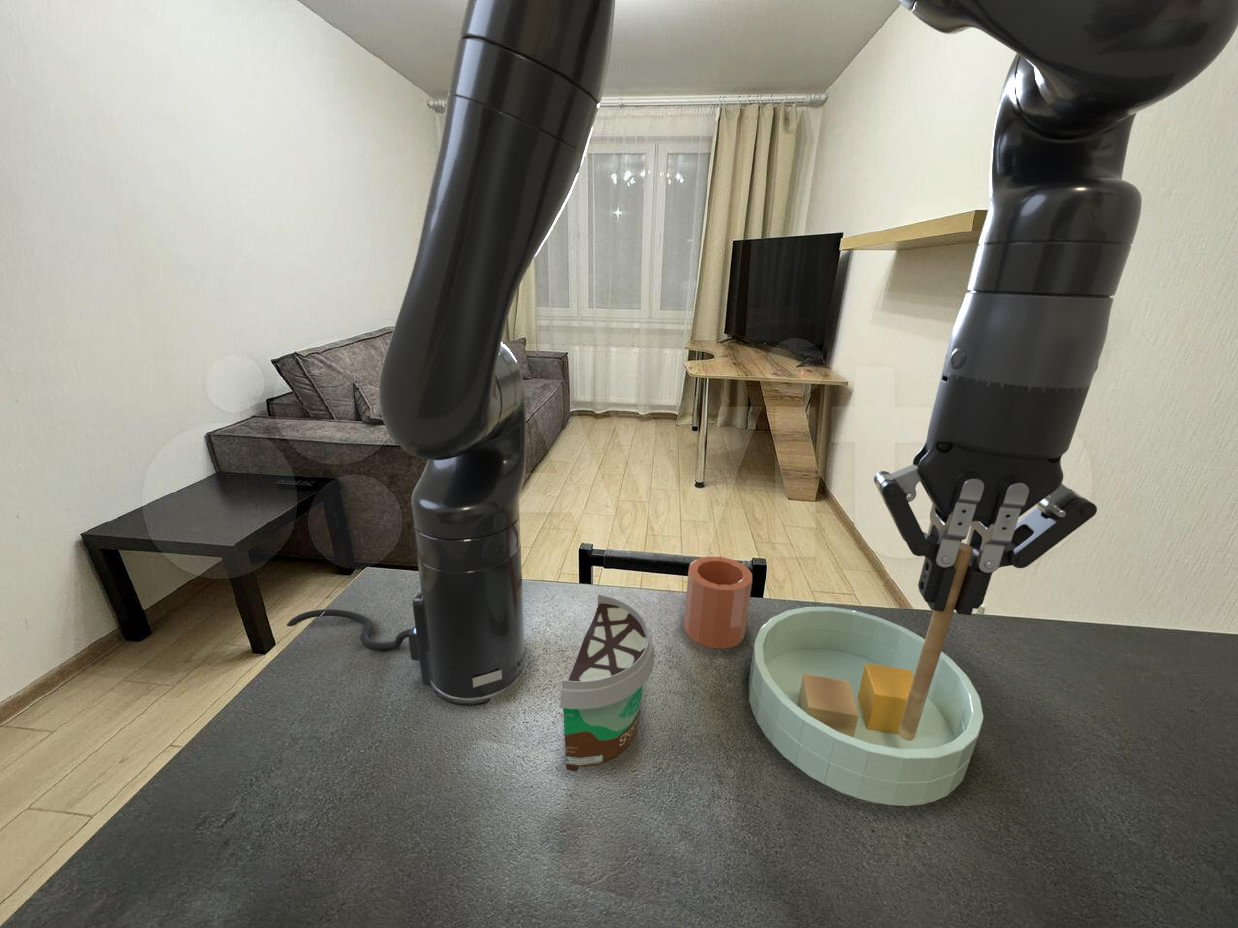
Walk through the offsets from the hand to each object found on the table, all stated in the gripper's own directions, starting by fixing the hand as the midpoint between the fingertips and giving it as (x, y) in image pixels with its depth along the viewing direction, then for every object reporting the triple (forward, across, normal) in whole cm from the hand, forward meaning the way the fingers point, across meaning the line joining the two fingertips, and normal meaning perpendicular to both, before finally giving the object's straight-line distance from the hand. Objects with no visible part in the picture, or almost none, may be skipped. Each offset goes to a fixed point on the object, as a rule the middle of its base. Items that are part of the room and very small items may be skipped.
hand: (945, 605), depth 38 cm
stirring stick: (+13, 0, 0) cm, 13 cm away
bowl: (+16, +3, -5) cm, 17 cm away
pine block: (+15, +6, -2) cm, 17 cm away
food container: (+16, +24, +2) cm, 29 cm away
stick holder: (+16, +16, -14) cm, 27 cm away
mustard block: (+15, 0, -5) cm, 16 cm away
